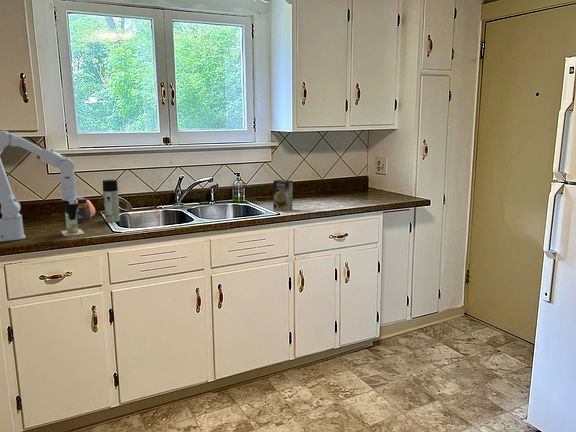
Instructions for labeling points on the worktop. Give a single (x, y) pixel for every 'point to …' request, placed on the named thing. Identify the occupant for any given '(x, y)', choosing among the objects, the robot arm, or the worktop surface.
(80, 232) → the baseplate
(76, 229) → the beech brick
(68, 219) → the sage brick
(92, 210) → the sugar bowl
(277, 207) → the coffee box
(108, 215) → the spray can
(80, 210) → the supplement bottle
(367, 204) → the worktop surface
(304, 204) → the worktop surface
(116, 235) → the worktop surface
